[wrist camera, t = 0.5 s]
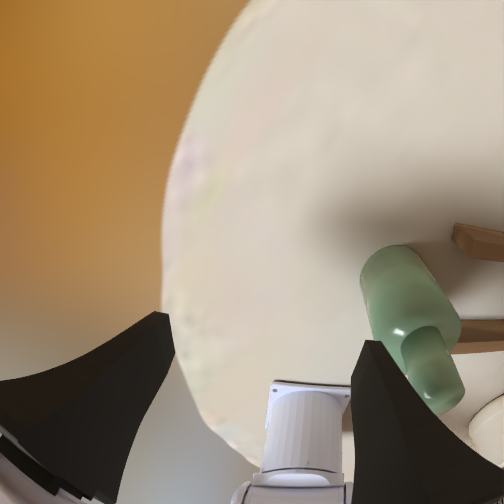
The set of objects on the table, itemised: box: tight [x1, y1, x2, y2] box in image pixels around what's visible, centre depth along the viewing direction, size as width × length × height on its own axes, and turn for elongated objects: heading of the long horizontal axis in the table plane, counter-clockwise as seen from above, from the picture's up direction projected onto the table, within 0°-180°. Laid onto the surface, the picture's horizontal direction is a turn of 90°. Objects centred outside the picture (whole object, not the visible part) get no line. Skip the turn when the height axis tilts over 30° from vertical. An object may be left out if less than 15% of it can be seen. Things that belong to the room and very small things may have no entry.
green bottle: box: [360, 246, 465, 416], centre depth 14 cm, size 5×5×11 cm
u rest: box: [450, 223, 504, 354], centre depth 16 cm, size 9×13×3 cm
